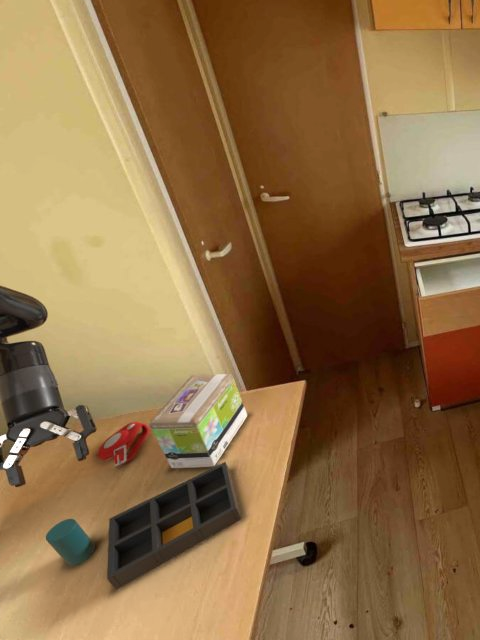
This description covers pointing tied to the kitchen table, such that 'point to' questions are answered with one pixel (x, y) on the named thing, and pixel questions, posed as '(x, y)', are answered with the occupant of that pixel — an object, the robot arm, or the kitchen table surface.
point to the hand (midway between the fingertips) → (52, 472)
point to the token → (70, 542)
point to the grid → (170, 524)
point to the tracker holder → (123, 443)
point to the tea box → (199, 421)
